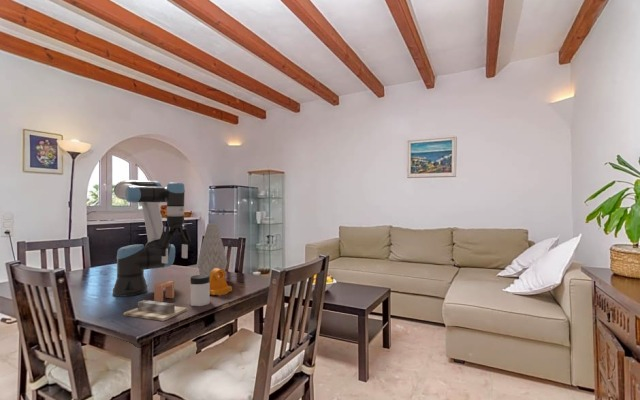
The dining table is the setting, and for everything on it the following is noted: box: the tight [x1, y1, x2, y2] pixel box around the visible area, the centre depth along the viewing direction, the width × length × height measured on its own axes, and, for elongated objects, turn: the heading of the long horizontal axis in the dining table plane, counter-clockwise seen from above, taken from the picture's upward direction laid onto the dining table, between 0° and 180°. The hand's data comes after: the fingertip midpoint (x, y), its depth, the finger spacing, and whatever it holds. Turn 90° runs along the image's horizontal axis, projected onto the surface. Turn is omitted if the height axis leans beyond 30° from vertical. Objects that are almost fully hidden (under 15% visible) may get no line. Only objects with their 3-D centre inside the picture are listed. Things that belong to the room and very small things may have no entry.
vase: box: [196, 223, 228, 276], centre depth 188 cm, size 17×17×33 cm
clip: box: [153, 280, 175, 302], centre depth 154 cm, size 4×8×8 cm, turn 162°
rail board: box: [123, 299, 188, 322], centre depth 135 cm, size 20×13×4 cm, turn 72°
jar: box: [189, 274, 211, 307], centre depth 148 cm, size 9×8×12 cm
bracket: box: [210, 268, 233, 296], centre depth 164 cm, size 11×7×12 cm, turn 136°
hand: (175, 260), depth 156 cm, fingers open, 13 cm apart
